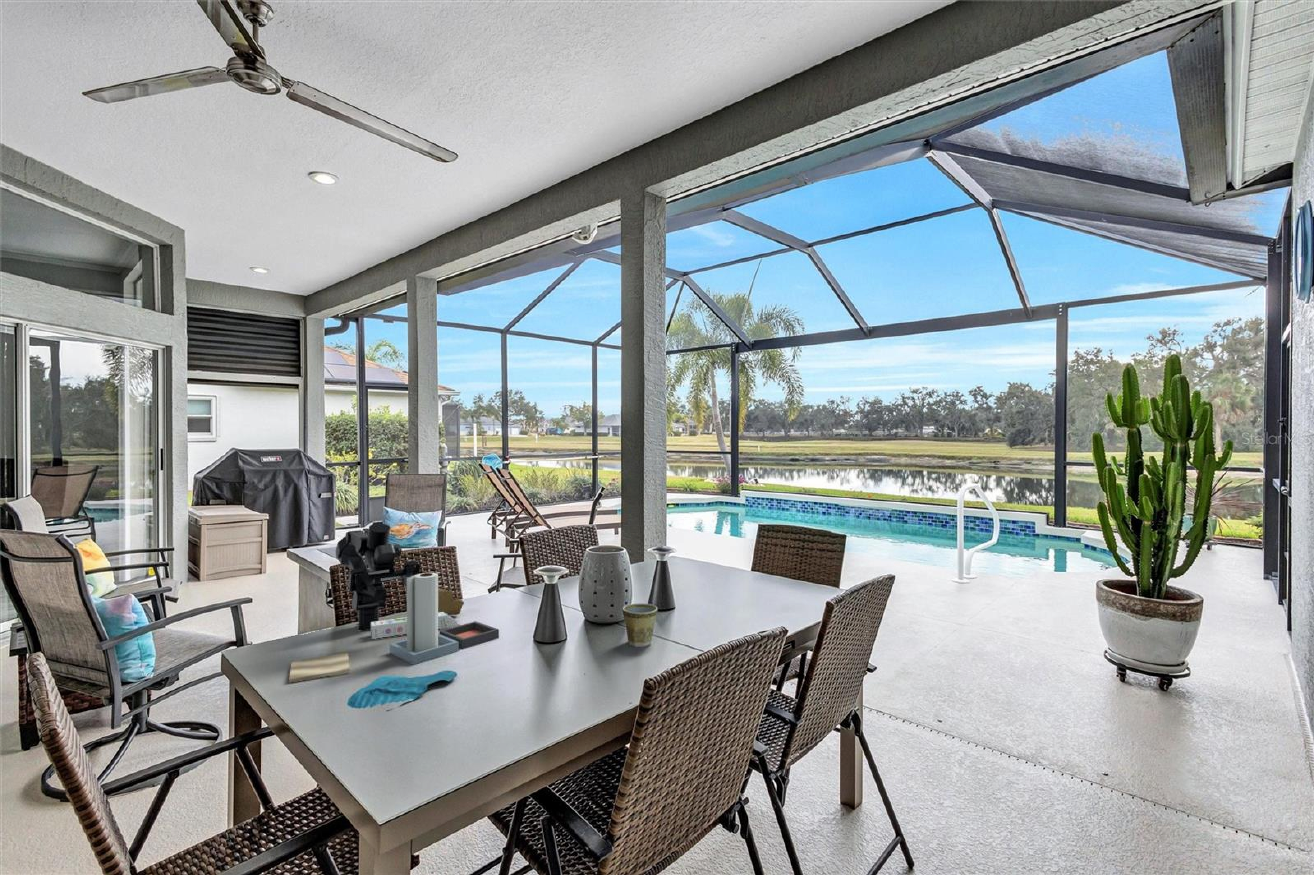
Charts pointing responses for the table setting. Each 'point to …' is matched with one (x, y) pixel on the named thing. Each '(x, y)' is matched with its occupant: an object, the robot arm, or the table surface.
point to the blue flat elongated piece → (395, 689)
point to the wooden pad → (319, 667)
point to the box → (405, 626)
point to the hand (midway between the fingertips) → (393, 592)
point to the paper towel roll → (422, 612)
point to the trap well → (471, 634)
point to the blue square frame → (415, 658)
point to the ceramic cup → (639, 623)
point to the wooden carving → (448, 602)
